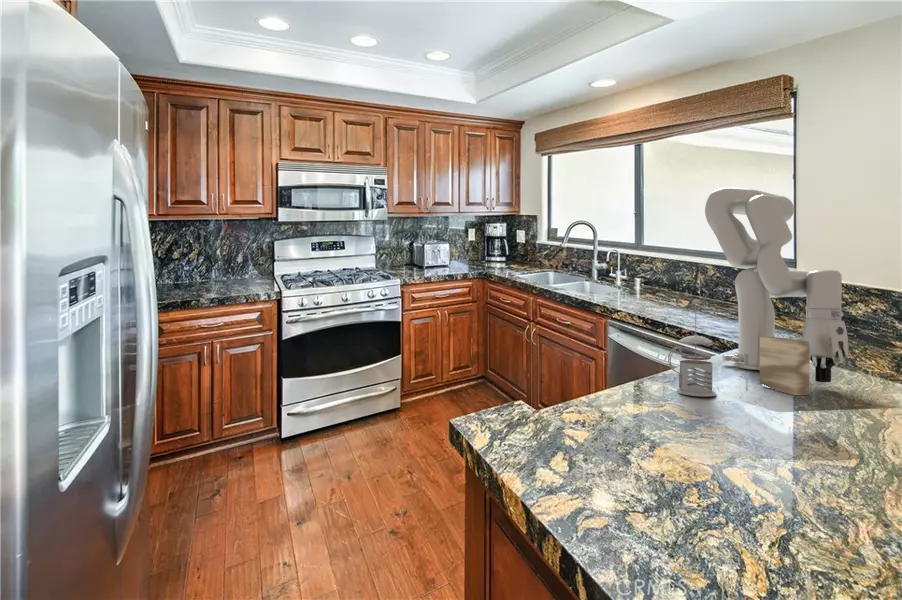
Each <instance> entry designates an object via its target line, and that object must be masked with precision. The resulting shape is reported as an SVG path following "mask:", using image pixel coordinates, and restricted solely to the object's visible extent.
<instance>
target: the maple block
mask: <svg viewBox="0 0 902 600" xmlns="http://www.w3.org/2000/svg"><path fill="white" fill-rule="evenodd" d="M809 357H810V341H804V340H802V339H795V338H794V339H793V338H785V337H777V336H775V337H760V370H759V383H760V384H764V385H766V386H768V387H770V388H772V389H771V390H773V389H775V390H774V391H777V392H781V393H785V394H790V395H793V396H809V395H810V359H809Z"/></svg>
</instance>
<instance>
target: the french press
mask: <svg viewBox="0 0 902 600" xmlns="http://www.w3.org/2000/svg"><path fill="white" fill-rule="evenodd" d="M700 303H701V301H700V300H699V299H695V298H694V299H693V300H692V301H691V304H693V305H694V306H695V307H694V311H695V313H694V318H695V321H694V322H695V323H694V324H695V325H694V326H695V328H694V330H695V334H694V335H688V336H685V337H683V338H681V339H679V343H680V344H685V345H688V344H689V345H695V348H694V349H695V350H694V351H695V353H694V354H689V353H688V354H687V353H686V354H682V355H681V356H680V357H681V358H682V359H684V360H679V371H677V370H675V369H674V367H673V365H672V356H673V353H674V352H675V351H676V350H677V349H678V351H679V352H680V353H681V352H682V350H683V348H682V346H680V345H677V346H674V347H673V348H672V349H671V350H670V351H669V353H668V356H667V357H668V359H667V362H668V366H669V367H670V369H671V370H672V371H673V372H675V373H677V374H678V388H676V391H675V392H676V393H678V394H681V395H686V396H693V397H715V396H717V395H718V394H717V393H716V392H715V390H713V362H712V361H708V360H711V359H712V357H711V356H709V355H704V354H697V345H712V344H713V343H714V341H713V340H711V339H709V338H707V337H705V336H702V335H698V334H697V305H698V304H700ZM702 370H703V371H702ZM690 374H691V375H690ZM690 379H691V380H690Z"/></svg>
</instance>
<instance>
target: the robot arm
mask: <svg viewBox="0 0 902 600" xmlns="http://www.w3.org/2000/svg"><path fill="white" fill-rule="evenodd" d="M794 212H795V206H794V203H793V201H791V199H789V198H788V197H787V196H784V195H783V196H782V195H778V194H774V193H769V192H765V191H762V190H757V189H751V188H741V187H731V186H729V187H728V186H727V187H721V188H717V189H714V191H712V192H711V193H710V195H708V197H707V200H706V203H705V207H704V214H705V219H706V221H707V224H708V226H709V227H710V229H711V230H712V231H713V234H714V235H715V237H716V239H717V241H718V244H719V246H720V247H721V250H722V251H723V254H724V255H725V258H726V259H727V262H728V263H729V265H730V266H732V267H734V268H737V269H742V270H741V271H740V272H739V273H738V274H737V276H736V278H735V281H734V288H735V293H736V299H737V306H738V307H737V308H738V351H735V352H734V353H733V354H723V355H722V358H721V359H722V361H723V362H732V365H733V364H734V365H735V366H734V365H733V366H734V367H736V366H737V367H736V368H738V367H739V369H744V370H752V371H753V370H756V371H760V337H776V335H775V331H776V329H775V328H776V327H775V326H776V325H775V324H776V322H775V321H776V320H775V319H776V318H775V317H776V316H775V307H774V304H773V302H772V298H774V299H775V298H789V297H790V298H791V297H792V298H802V297H803V298H805V297H806V307H805V308H806V310H805V311H806V313H805V314H806V315H805V316H806V319H804V324H803V328H802V334H801V335H802V337H801V340H804V341H810V357H809V361H811V362H812V365H813V367H814V369H815V374H814V375H815V376H814V377H815V378H814V379H815V382H819V383H831V382H832V369H833V368H834V367H835V365H836V364H842V363H845V361H844V358H847V357H848V356H849V337H848V331H847V325H846V323H845V321H844V320H842V317H843V316H844V315H845V314H844V312H843V311H842V286H843V285H842V280H843V279H842V274H841V272H840V271H838V270H835V269H834V270H833V269H831V270H830V269H829V270H827V269H825V270H824V269H823V270H812V271H806V270H805V271H802V270H790V269H789V267H788V265H787V264H786V262H785V260H784V258H783V256H782V254H781V252H782V248H783V247H784V246H786V245H787V244H788V243H790V242H791V241H792V238H793V234H792V231H791V229H790V228H789V225H788V223H787V222H788V221H790V219H791V218H792V217H793V215H794ZM735 215H744V216H746V217H747V220H748V221H749V224H750V227H751V230H752V231H753V234H754V235H755V237H756V239H754V238H752V237H751V235H750V234H749V233H748V231H747V229H746V227H745V225H744V224H743V222H742V221H740V220H739V219H738V218H737V217H736V216H735Z"/></svg>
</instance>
